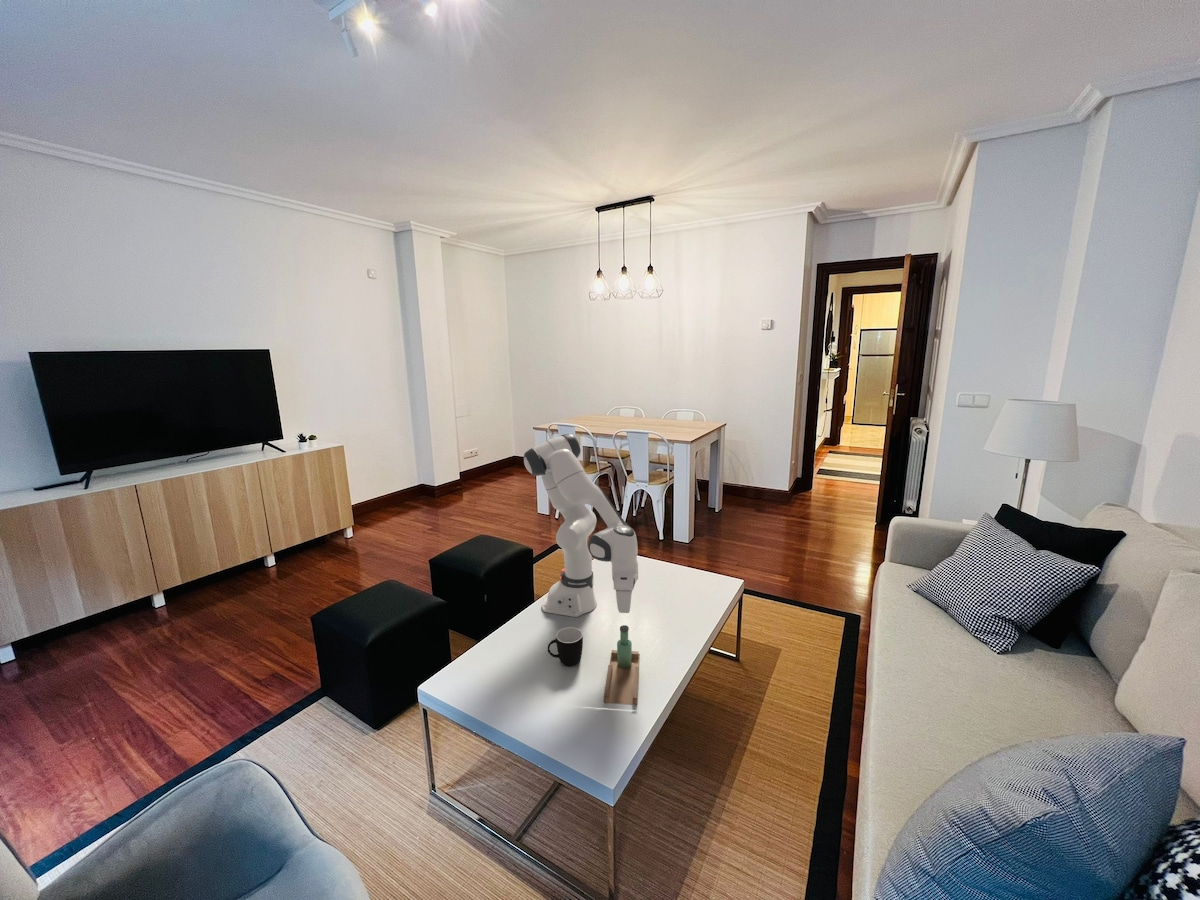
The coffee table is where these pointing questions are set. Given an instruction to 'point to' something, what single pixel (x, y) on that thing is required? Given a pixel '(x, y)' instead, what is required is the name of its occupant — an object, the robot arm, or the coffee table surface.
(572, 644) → the mug
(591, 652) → the coffee table surface
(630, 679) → the rest
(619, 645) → the bottle
